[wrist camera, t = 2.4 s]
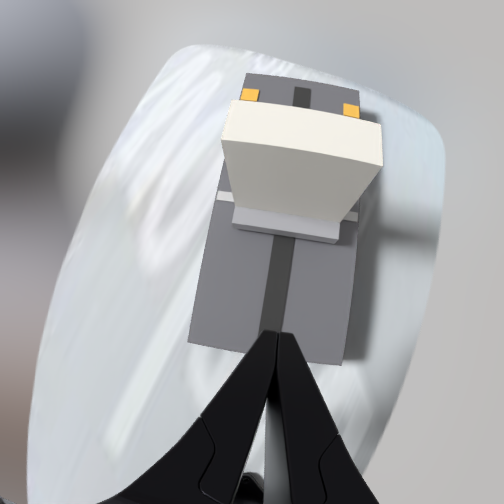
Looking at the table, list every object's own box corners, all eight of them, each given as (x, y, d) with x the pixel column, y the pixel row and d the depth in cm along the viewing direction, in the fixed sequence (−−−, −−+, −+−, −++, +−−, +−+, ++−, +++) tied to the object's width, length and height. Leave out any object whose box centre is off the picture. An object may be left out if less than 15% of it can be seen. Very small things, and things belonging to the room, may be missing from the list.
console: (331, 360, 19) (342, 365, 16) (196, 339, 19) (187, 342, 17) (351, 109, 23) (359, 89, 20) (247, 92, 23) (246, 72, 21)
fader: (334, 243, 18) (383, 190, 10) (233, 228, 18) (214, 162, 10) (339, 183, 18) (379, 106, 11) (244, 168, 19) (236, 82, 11)
